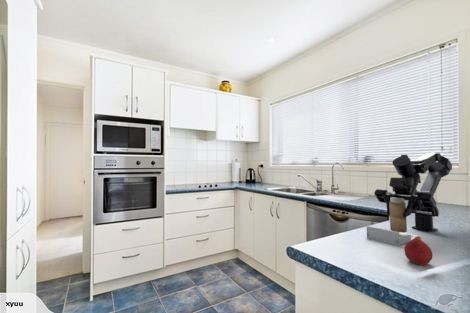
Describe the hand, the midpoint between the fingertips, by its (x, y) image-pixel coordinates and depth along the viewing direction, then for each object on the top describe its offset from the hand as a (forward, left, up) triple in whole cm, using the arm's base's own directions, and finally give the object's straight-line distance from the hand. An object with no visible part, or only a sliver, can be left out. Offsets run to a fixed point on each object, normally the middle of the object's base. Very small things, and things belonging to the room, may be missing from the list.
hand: (395, 215), depth 83 cm
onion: (+19, +18, -9) cm, 27 cm away
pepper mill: (-1, 0, -6) cm, 6 cm away
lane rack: (+2, 0, -8) cm, 9 cm away
